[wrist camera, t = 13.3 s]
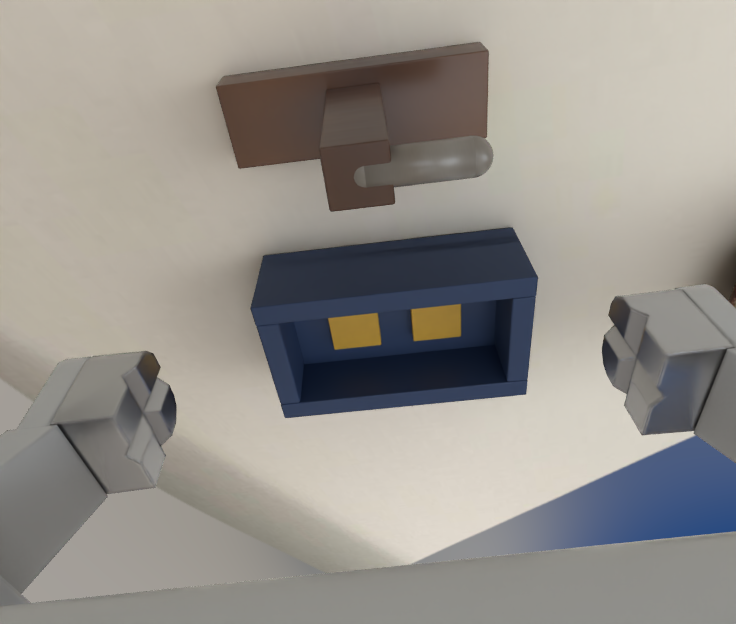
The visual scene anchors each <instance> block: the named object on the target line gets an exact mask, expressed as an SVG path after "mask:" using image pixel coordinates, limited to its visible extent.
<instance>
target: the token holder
mask: <svg viewBox="0 0 736 624" xmlns="http://www.w3.org/2000/svg"><path fill="white" fill-rule="evenodd" d="M537 281H538V276H537V274H536V272H535V270H534V268H533V267H532V265H531V263H530V261H529V259H528V257H527V255H526V253H525V251H524V249H523V247H522V245H521V243H520V241H519V239H518V237H517V235H516V233H515V231H514V229H513V228H503V229H494V230H485V231H476V232H468V233H459V234H450V235H441V236H432V237H423V238H415V239H406V240H397V241H388V242H379V243H370V244H362V245H353V246H344V247H335V248H326V249H317V250H309V251H300V252H291V253H282V254H273V255H264V256H263V260H262V264H261V268H260V272H259V276H258V280H257V284H256V288H255V292H254V296H253V300H252V304H251V311H252V315H253V318H254V321H255V324H256V326H257V330H258V333H259V336H260V339H261V342H262V346H263V349H264V352H265V355H266V358H267V361H268V365H269V368H270V371H271V374H272V377H273V381H274V384H275V387H276V390H277V393H278V397H279V400H280V403H281V407H282V410H283V413H284V416H285V418H291V417H302V416H312V415H322V414H332V413H342V412H352V411H363V410H373V409H383V408H393V407H403V406H413V405H424V404H434V403H444V402H454V401H464V400H474V399H485V398H495V397H505V396H515V395H525V394H526V390H527V378H528V368H529V358H530V348H531V338H532V328H533V318H534V308H535V298H536V297H535V296H536V291H537Z"/></svg>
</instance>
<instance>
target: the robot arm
mask: <svg viewBox="0 0 736 624" xmlns="http://www.w3.org/2000/svg"><path fill="white" fill-rule="evenodd" d="M608 316H609V317H610V319H611V320H612V322H613V323H614V326H613V327H612V328H611V329H610V330H609V331H608V332H607V333H606V334H605V335H604V340H603V346H602V355H603V365H604V367H605V370H606V373H607V376H608V378H609V380H610V381H611V383H612V385H613V386H614V387H615V388H617V389H619V390H621V391H622V392H624V393H626V394H627V396H626V400H625V404H624V406H625V408H626V409H627V411H628V413H629V414H630V416H631V418H632V419H633V421H634V423H635V425H636V426H637V428H638V430H639V431H640V433H641V435H650V434H662V433H674V432H686V431H694V434H695V435H697V436H698V437H700V438H701V439H702V440H704V441H705V442H707V443H708V444H709V445H711V446H712V447H714V448H715V449H716V450H718V451H719V452H721V453H722V454H724V455H725V456H727V457H728V458H729V459H731V460H732V461H734V462H735V463H736V308H735V307H734V306H733V305H732V304H731V303H730V302H729V301H728V300H727V299H726V298H724V297H723V296H722V295H721V294H720V293H719V292H718V291H717V290H716V289H715V288H714V287H712V286H710V285H707V284H702V285H695V286H688V287H681V288H675V289H674V290H664V291H656V292H648V293H639V294H631V295H623V296H615V298H614V300H613V301H612V303H611V306H610V310H609V315H608ZM160 368H161V367H160V365H159V363H158V361H157V359H156V358H155V356H154V354H153V353H150V352H148V351H141V352H130V353H119V354H109V355H98V356H92V357H81V358H71V359H65V360H63V361H61V362H59V363H58V364H57V365H56V367H55V369H54V370H53V372H52V373H51V375H50V377H49V378H48V380H47V381H46V383H45V384H44V386H43V388H42V389H41V391H40V392H39V394H38V396H37V397H36V399H35V400H34V402H33V404H32V405H31V407H30V408H29V410H28V412H27V413H26V415H25V417H24V418H23V420H22V421H21V423H20V424H19V426H18V427H17V429H15V430H7V431H6V432H4V433H3V434H1V435H0V624H736V532H726V533H716V534H706V535H696V536H687V537H677V538H667V539H658V540H648V541H637V542H628V543H618V544H609V545H599V546H589V547H579V548H569V549H559V550H550V551H541V552H530V553H521V554H511V555H501V556H491V557H482V558H471V559H461V560H451V561H442V562H432V563H422V564H412V565H402V566H392V567H382V568H372V569H362V570H353V571H343V572H333V573H323V574H313V575H303V576H293V577H283V578H273V579H264V580H253V581H244V582H234V583H224V584H214V585H204V586H194V587H184V588H175V589H164V590H155V591H145V592H135V593H125V594H116V595H106V596H96V597H86V598H75V599H67V600H56V601H46V602H36V603H31V602H30V601H28V600H27V599H26V598H25V597H24V596H23V595H22V593H23V591H24V590H25V589H26V588H27V587H28V586H29V585H30V584H31V582H32V581H33V580H34V579H35V578H36V577H37V576H38V575H39V573H40V572H41V571H42V570H43V569H44V568H45V567H46V566H47V564H48V563H49V562H50V561H51V560H52V559H53V558H54V557H55V555H56V554H57V553H58V552H59V551H60V550H61V549H62V547H63V546H64V545H65V544H66V543H67V542H68V541H69V540H70V538H71V537H72V536H73V535H74V534H75V533H76V532H77V531H78V530H79V528H80V527H81V526H82V525H83V524H84V523H85V522H86V521H87V519H88V518H89V517H90V516H91V515H92V514H93V513H94V512H95V510H96V509H97V508H98V507H99V506H100V505H101V504H102V503H103V501H104V500H105V499H106V498H107V494H111V493H119V492H126V491H134V490H141V489H149V488H155V487H156V484H157V481H158V478H159V475H160V472H161V469H162V466H163V463H164V460H165V457H166V455H165V453H164V451H163V449H162V448H161V445H162V444H164V443H165V442H166V441H167V440H168V439H169V438H170V437H171V436H172V434H173V431H174V428H175V424H176V407H177V406H176V402H175V398H174V394H173V392H172V390H171V388H170V385H169V384H167V383H165V382H164V381H162V380H161V379H159V378H157V375H158V373H159V370H160Z"/></svg>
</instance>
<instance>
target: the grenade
mask: <svg viewBox="0 0 736 624" xmlns="http://www.w3.org/2000/svg"><path fill="white" fill-rule="evenodd" d="M729 302H730V303H731V304H732V305H733V306H734V307H735V308H736V284H735V286H734V289H733V291H732V294H731V297H730V299H729Z"/></svg>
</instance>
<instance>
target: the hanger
mask: <svg viewBox="0 0 736 624" xmlns="http://www.w3.org/2000/svg"><path fill="white" fill-rule="evenodd" d="M488 59H489V51H488V50H487V49H486V48H485V47H484V45H483V44H482V43H481V42H477V43H469V44H462V45H454V46H447V47H439V48H432V49H424V50H417V51H409V52H402V53H394V54H387V55H379V56H372V57H364V58H357V59H349V60H342V61H334V62H327V63H319V64H312V65H304V66H297V67H289V68H281V69H274V70H266V71H259V72H251V73H244V74H236V75H229V76H224V77H223V78H222V79H221V81H220V82H219V83H218V85H217V86H216V89H217V93H218V96H219V100H220V104H221V107H222V111H223V114H224V118H225V122H226V125H227V129H228V132H229V136H230V139H231V143H232V147H233V150H234V154H235V157H236V161H237V165H238V168H248V167H256V166H264V165H272V164H280V163H288V162H296V161H305V160H313V159H321V165H322V171H323V176H324V182H325V187H326V193H327V199H328V204H329V210H330V211H331V212H333V211H341V210H350V209H358V208H366V207H375V206H383V205H391V204H394V203H395V195H394V187H401V186H409V185H418V184H426V183H434V182H442V181H451V180H459V179H467V178H475V177H478V176H481V175H483V174H484V173H485V172H486V171H487V170H488V169H489V168H490V166H491V164H492V161H493V150H492V147H491V145H490V143H489V142H488V141H487V140H486V139H484V138H486V137H487V105H488Z"/></svg>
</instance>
